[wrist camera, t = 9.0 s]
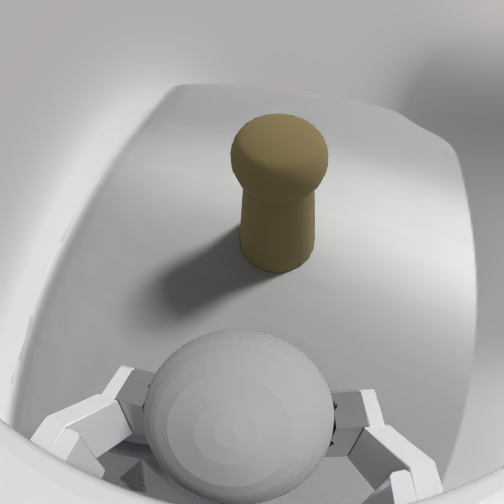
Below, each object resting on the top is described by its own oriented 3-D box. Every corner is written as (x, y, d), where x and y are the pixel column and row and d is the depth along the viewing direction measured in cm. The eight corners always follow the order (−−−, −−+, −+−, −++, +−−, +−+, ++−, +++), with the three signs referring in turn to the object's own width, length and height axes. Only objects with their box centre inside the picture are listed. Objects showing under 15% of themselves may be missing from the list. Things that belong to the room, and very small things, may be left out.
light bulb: (186, 421, 13) (79, 462, 4) (226, 338, 15) (167, 272, 6) (278, 460, 12) (292, 560, 3) (317, 373, 14) (395, 359, 5)
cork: (228, 258, 22) (196, 160, 12) (255, 199, 25) (245, 92, 15) (302, 283, 21) (327, 194, 11) (322, 218, 23) (348, 114, 13)
